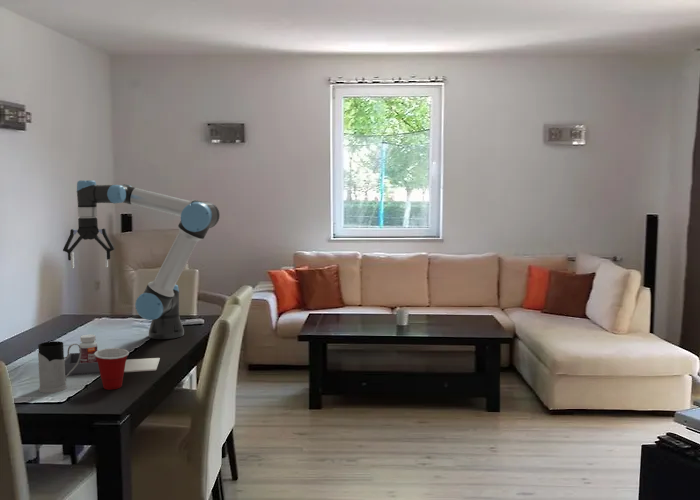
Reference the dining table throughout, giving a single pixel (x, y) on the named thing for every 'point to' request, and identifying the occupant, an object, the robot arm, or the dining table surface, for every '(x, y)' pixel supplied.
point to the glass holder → (53, 366)
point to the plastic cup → (111, 366)
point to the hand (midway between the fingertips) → (89, 267)
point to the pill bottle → (88, 349)
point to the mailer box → (93, 367)
